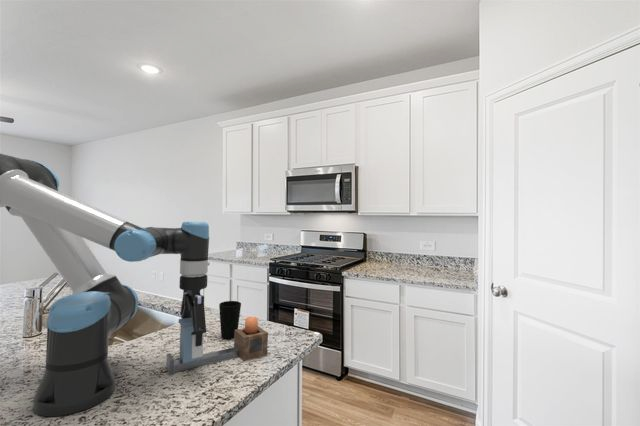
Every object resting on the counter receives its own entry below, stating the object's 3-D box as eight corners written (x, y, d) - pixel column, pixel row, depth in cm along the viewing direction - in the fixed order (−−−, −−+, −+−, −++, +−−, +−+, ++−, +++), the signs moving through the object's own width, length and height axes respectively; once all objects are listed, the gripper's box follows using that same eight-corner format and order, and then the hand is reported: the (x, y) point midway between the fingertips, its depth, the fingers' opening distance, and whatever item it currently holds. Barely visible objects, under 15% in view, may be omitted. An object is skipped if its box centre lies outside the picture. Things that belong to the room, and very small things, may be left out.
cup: (226, 342, 108) (227, 307, 108) (213, 337, 113) (214, 303, 113) (244, 336, 114) (245, 303, 114) (231, 331, 119) (232, 299, 119)
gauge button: (247, 334, 97) (248, 321, 97) (242, 330, 101) (243, 318, 101) (259, 332, 100) (259, 319, 100) (254, 328, 103) (254, 316, 103)
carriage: (181, 364, 86) (183, 325, 87) (177, 356, 91) (178, 319, 91) (203, 359, 90) (205, 321, 90) (198, 352, 94) (199, 316, 95)
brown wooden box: (243, 361, 94) (244, 338, 94) (233, 351, 101) (234, 329, 101) (267, 355, 99) (268, 333, 99) (256, 346, 106) (257, 325, 106)
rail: (169, 375, 85) (170, 360, 85) (166, 367, 89) (166, 353, 89) (243, 357, 97) (243, 344, 97) (237, 351, 101) (237, 339, 101)
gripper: (220, 281, 83) (217, 361, 83) (196, 267, 103) (193, 332, 103) (190, 283, 79) (187, 369, 78) (171, 269, 99) (169, 336, 98)
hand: (191, 348), depth 91 cm, fingers open, 13 cm apart
